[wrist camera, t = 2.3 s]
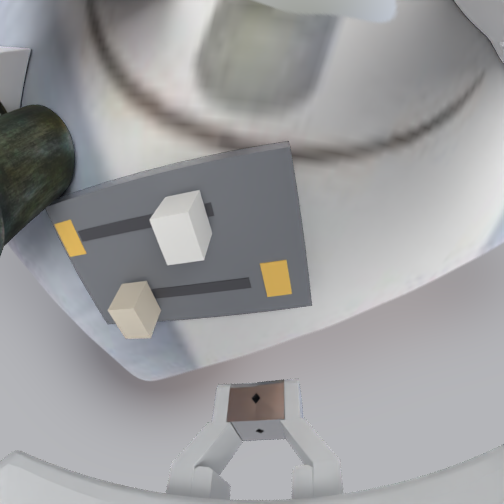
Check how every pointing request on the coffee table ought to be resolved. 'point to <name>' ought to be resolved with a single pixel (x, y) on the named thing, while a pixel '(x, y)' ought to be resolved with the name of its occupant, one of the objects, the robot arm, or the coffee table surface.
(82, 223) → the switch panel
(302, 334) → the coffee table surface
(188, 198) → the off white slider
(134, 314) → the sand slider
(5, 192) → the mug
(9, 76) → the milk carton
